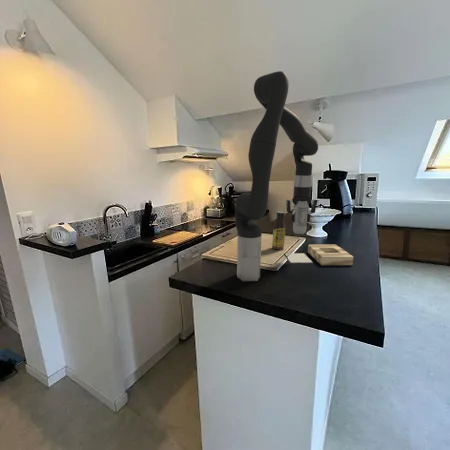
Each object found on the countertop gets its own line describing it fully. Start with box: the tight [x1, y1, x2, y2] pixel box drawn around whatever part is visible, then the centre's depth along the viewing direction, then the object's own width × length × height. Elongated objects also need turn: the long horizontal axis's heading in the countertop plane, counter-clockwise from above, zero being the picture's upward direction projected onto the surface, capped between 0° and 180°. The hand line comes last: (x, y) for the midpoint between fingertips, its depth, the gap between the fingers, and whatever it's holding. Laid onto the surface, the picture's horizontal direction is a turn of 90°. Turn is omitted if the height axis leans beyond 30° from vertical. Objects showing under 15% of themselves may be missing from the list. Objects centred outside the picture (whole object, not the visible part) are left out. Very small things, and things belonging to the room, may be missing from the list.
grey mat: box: [287, 252, 314, 264], centre depth 124 cm, size 12×10×1 cm
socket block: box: [307, 244, 354, 266], centre depth 124 cm, size 18×14×4 cm
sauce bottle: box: [271, 211, 286, 250], centre depth 136 cm, size 6×6×20 cm
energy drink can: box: [292, 201, 309, 235], centre depth 119 cm, size 6×6×15 cm
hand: (300, 222), depth 120 cm, fingers closed on energy drink can, 6 cm apart
